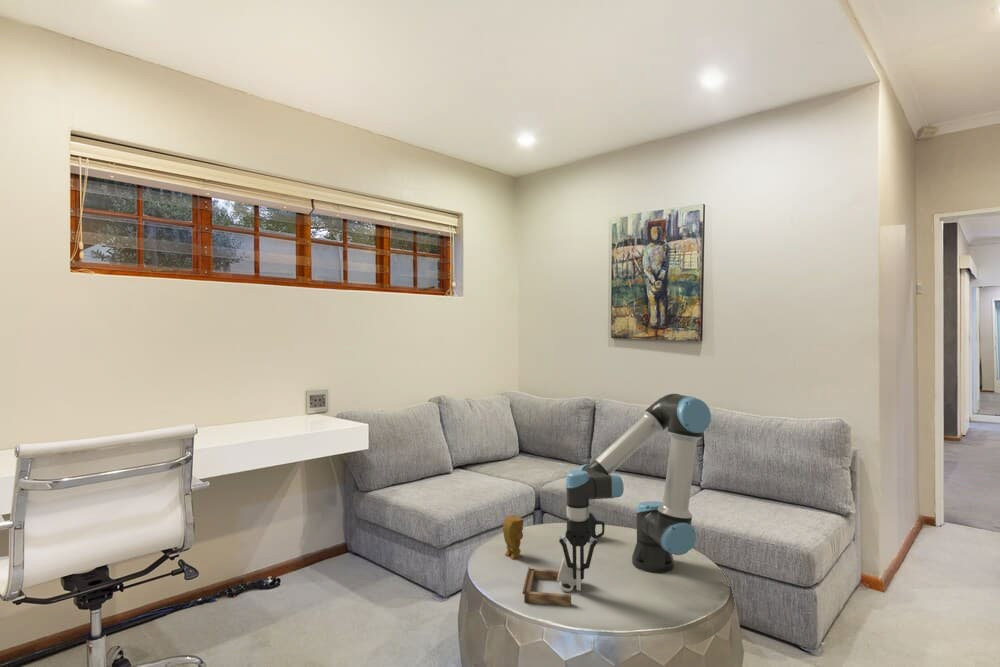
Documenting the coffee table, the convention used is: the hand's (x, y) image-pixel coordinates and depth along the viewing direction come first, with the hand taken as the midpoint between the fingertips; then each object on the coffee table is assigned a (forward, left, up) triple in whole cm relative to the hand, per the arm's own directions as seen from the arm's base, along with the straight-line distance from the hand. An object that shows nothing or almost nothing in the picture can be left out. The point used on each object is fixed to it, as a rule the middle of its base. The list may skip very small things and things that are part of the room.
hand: (578, 588), depth 183 cm
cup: (-1, -4, +1) cm, 4 cm away
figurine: (+26, -26, -2) cm, 37 cm away
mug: (-4, -47, -2) cm, 48 cm away
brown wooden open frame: (+10, 0, -2) cm, 10 cm away
